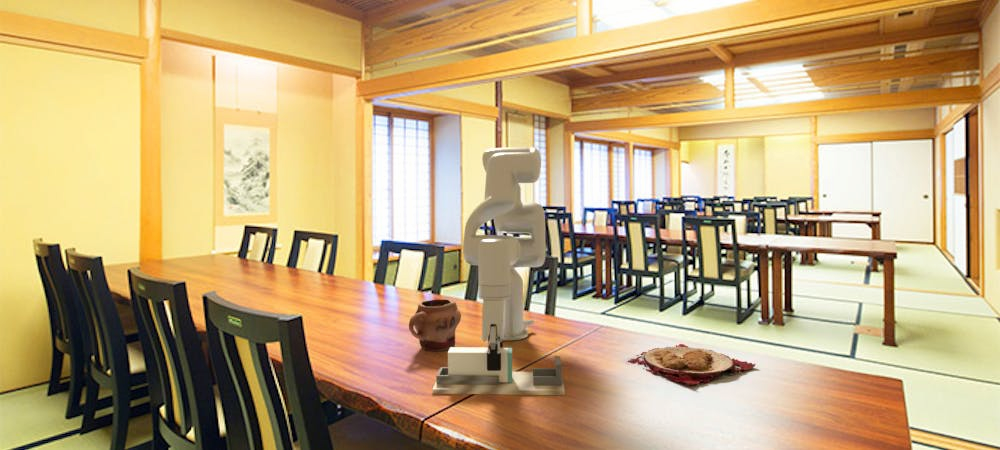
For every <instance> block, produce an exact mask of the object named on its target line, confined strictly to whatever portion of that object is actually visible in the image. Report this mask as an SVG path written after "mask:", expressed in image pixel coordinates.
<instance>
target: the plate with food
mask: <svg viewBox="0 0 1000 450" xmlns="http://www.w3.org/2000/svg"><path fill="white" fill-rule="evenodd" d="M640 359H642V360H640ZM626 362H627V363H630V364H637V365H638V366H644V367H646V368H644V367H643V368H642V370H644V371H646V372H648V373H651V374H652V375H657V376H661V375H662V376H663V373H664V377H667V379H668V380H670V381H672V382H676V383H681V384H685V385H686V386H690V385H691V386H693V385H697V386H698V385H699V383H702V382H703V383H704V384H707V383H709V382H710V381H712V380H716V379H719V378H720V377H721V378H725V377H726V376H725V375H723V374H722V375H721V373H722V372H724V371H728V370H731V371H730V373H729V376H733V375H737V374H738V375H740V374H742V372H741V371H747V370H750V369H753V368H754V367H755V366H756V365H757V364H756V363H752V362H748V361H741V360H739V359H735V358H730V356H729V355H726V354H723V353H721V352H716V351H714V350H712V349H707V348H700V347H698V348H697V347H691V346H688V345H686V344H683V343H679V344H678V346H677V345H675V346H666V347H663V348H662V347H655V348H652V349H648V351H642V353H640V354H637V355H636V358H632V359H630V360H628V361H626ZM736 367H737V368H736ZM648 368H650V369H648ZM661 372H663V373H661ZM665 373H666V374H665ZM719 374H720V375H719ZM675 375H677V376H679V377H677V376H675Z"/></svg>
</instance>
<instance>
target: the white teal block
mask: <svg viewBox="0 0 1000 450" xmlns="http://www.w3.org/2000/svg"><path fill="white" fill-rule="evenodd" d="M487 353H488V347H467V346H465V347H464V346H463V347H461V346H460V347H459V346H457V347H456V346H453V347H450V348H449V349H448V351H447V367H448V375H479V376H499V382H512V372H513V347H503V348H500V353H501V370H500V371H488V370H487Z"/></svg>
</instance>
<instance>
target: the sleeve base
mask: <svg viewBox="0 0 1000 450" xmlns="http://www.w3.org/2000/svg"><path fill="white" fill-rule="evenodd" d="M565 392H566V391H565V385H564V380H563V378H562V386H538V385H533V371H512V382H499V376H479V375H448V366H445V367H444V366H442V367H441V366H440V367H439V370H438V372H437V374H436V381H435V383H434V385H433V388H432V394H435V395H436V394H437V395H438V394H439V395H442V394H444V395H445V394H446V395H448V394H449V395H509V396H510V395H514V396H515V395H517V396H518V395H521V396H522V395H523V396H524V395H525V396H530V395H531V396H533V395H534V396H565V395H566V393H565Z"/></svg>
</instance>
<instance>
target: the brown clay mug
mask: <svg viewBox="0 0 1000 450" xmlns="http://www.w3.org/2000/svg"><path fill="white" fill-rule="evenodd" d="M461 319H462V314H461V312H460V310H459V308H458V305H457V303H456V301H455V300H453V299H449V298H447V299H446V298H445V299H443V298H442V299H441V298H438V299H436V298H434V299H431V300H425V301H421V302H419V303H418V305H417V309H416V311H415V313H414V314H413V315H412V316H411V318H410V319H409V322H408V330H409V332H410V334H411V335H412V336H413V337H415V339H418V342H419V344H420V345H419V346H420V347H421V349H423V350H426V351H430V352H431V351H432V352H440V351H445V350H449V349H450V347H455V346H456V330H457V327H458V325H459V324H460V322H461ZM414 328H415V329H416V331H415V330H414Z"/></svg>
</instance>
